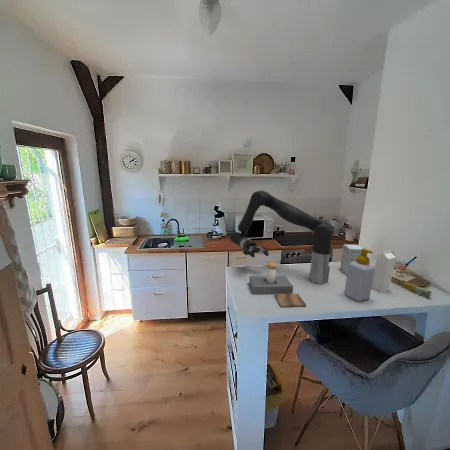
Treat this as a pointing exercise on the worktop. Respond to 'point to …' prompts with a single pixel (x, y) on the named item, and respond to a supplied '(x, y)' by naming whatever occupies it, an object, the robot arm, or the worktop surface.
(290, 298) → the pad
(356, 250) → the supplement box
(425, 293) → the medication box
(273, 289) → the grey base plate
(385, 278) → the milk
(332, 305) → the worktop surface
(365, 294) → the soap bottle
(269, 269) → the plug
